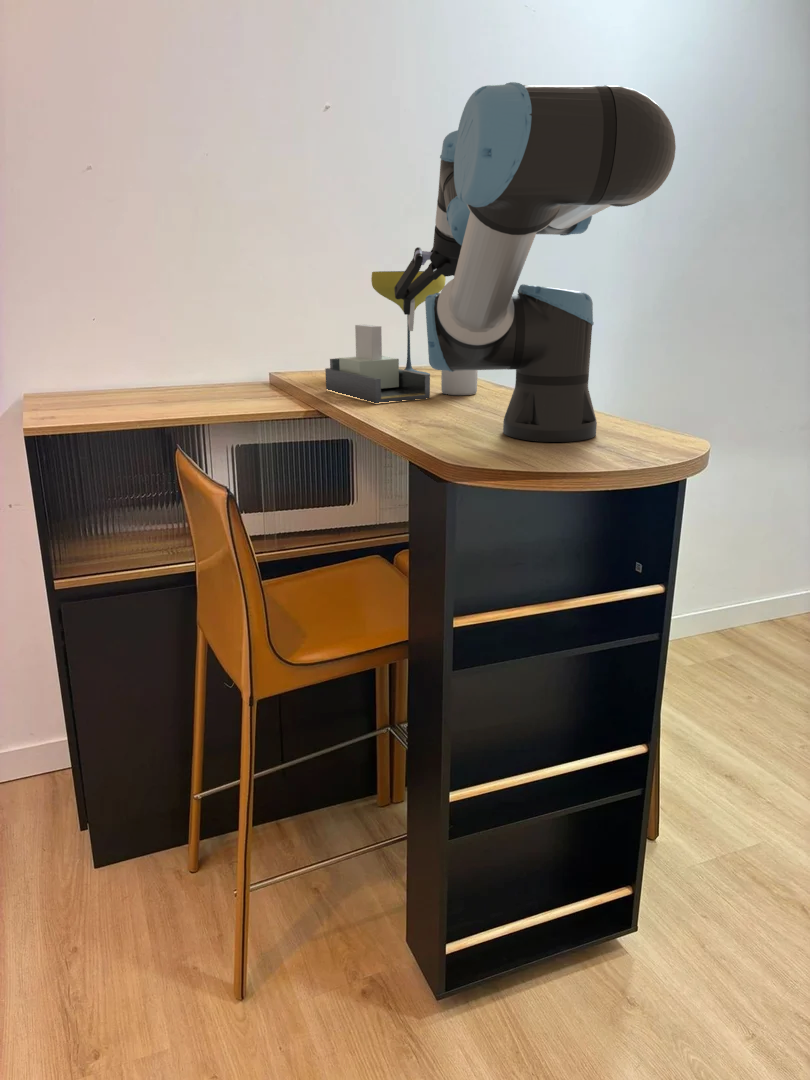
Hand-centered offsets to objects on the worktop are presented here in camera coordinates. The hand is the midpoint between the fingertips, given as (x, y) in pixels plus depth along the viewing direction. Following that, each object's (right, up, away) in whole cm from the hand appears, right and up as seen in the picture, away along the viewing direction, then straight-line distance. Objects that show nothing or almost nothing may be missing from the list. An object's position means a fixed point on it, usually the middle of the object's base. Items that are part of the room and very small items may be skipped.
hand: (445, 326), depth 157 cm
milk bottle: (+4, -9, +22) cm, 24 cm away
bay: (-14, -10, +20) cm, 26 cm away
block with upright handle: (-16, -7, +22) cm, 28 cm away
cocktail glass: (-7, +1, +51) cm, 52 cm away
